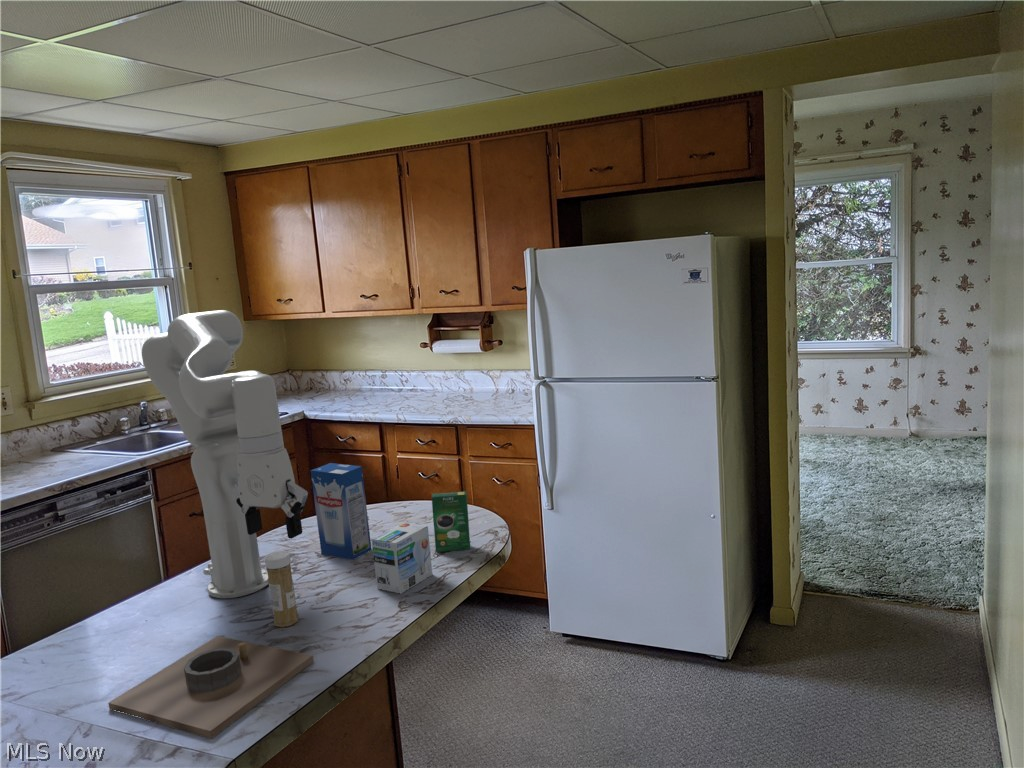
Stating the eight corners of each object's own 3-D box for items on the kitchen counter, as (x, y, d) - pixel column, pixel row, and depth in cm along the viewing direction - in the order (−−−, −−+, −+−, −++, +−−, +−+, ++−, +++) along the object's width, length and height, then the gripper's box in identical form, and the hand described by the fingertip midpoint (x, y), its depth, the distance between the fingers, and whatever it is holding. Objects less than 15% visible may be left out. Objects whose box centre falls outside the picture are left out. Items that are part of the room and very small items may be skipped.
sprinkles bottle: (302, 622, 146) (292, 554, 143) (278, 630, 143) (268, 561, 141) (294, 614, 149) (285, 547, 147) (270, 621, 147) (261, 554, 145)
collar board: (109, 709, 121) (104, 685, 121) (218, 642, 141) (215, 620, 140) (211, 738, 112) (207, 712, 111) (313, 661, 131) (310, 638, 130)
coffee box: (471, 544, 177) (466, 489, 175) (471, 549, 174) (466, 493, 172) (436, 548, 177) (430, 493, 175) (435, 553, 174) (430, 497, 172)
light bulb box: (401, 595, 154) (395, 543, 152) (375, 589, 158) (369, 539, 156) (434, 574, 163) (429, 524, 161) (409, 569, 167) (403, 521, 165)
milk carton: (371, 550, 179) (361, 466, 176) (352, 560, 174) (342, 474, 171) (340, 544, 185) (330, 462, 181) (321, 554, 180) (310, 470, 176)
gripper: (210, 447, 141) (225, 538, 144) (283, 449, 133) (297, 545, 136) (241, 437, 148) (255, 524, 150) (312, 439, 140) (325, 530, 142)
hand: (275, 534), depth 143 cm, fingers open, 9 cm apart
